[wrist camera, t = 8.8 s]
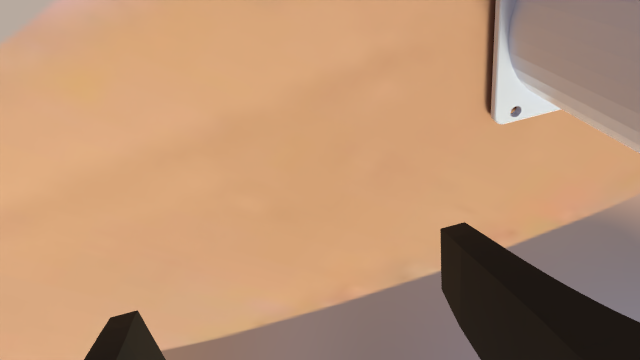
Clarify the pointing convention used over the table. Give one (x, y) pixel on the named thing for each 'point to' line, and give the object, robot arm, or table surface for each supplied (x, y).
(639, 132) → the robot arm
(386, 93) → the table surface
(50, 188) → the table surface
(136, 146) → the table surface
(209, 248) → the table surface
